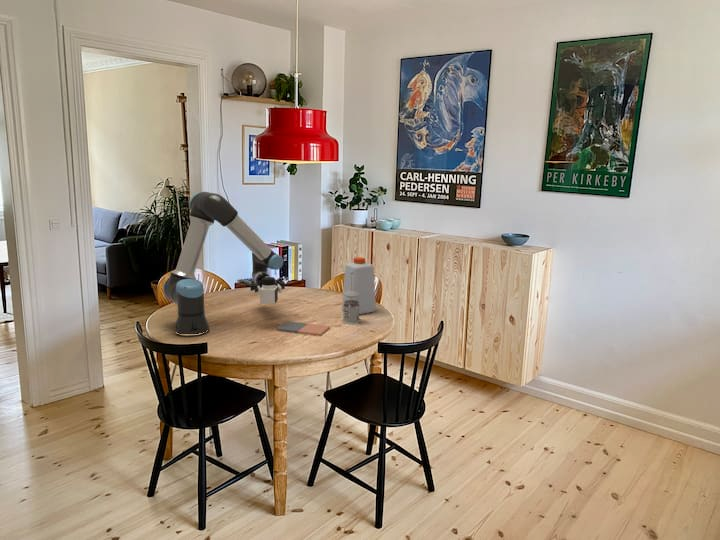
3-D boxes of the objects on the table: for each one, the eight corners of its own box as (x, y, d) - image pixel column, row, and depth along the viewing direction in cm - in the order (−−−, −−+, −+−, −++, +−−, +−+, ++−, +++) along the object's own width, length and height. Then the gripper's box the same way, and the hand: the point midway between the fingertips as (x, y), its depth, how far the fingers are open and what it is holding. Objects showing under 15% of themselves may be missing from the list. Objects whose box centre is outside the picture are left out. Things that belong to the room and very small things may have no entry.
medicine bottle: (275, 304, 254) (274, 279, 252) (260, 304, 254) (259, 279, 252) (277, 300, 261) (277, 275, 259) (263, 300, 261) (262, 275, 259)
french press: (343, 324, 262) (344, 274, 257) (338, 317, 273) (338, 269, 268) (363, 323, 265) (364, 273, 260) (357, 316, 276) (357, 268, 271)
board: (320, 336, 246) (320, 333, 245) (276, 330, 252) (276, 328, 252) (330, 328, 257) (330, 326, 257) (287, 323, 264) (287, 321, 263)
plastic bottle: (362, 305, 297) (363, 254, 291) (378, 312, 284) (379, 259, 278) (339, 309, 289) (339, 257, 283) (354, 316, 276) (354, 262, 270)
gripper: (284, 286, 277) (293, 297, 256) (241, 288, 271) (247, 300, 250) (284, 271, 276) (293, 281, 255) (240, 274, 269) (246, 284, 248)
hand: (270, 291), depth 252 cm, fingers closed on medicine bottle, 9 cm apart
